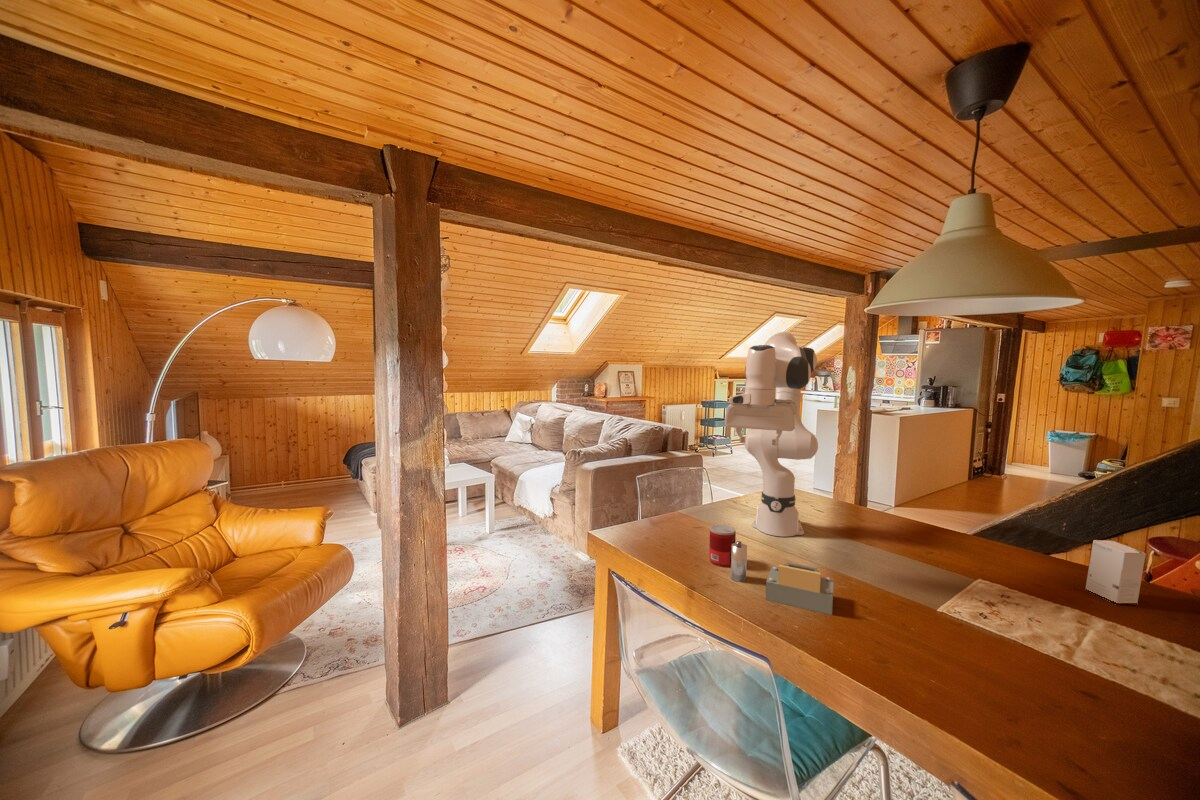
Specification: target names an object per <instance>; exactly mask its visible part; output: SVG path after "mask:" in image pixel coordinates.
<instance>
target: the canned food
mask: <svg viewBox="0 0 1200 800" xmlns="http://www.w3.org/2000/svg"><path fill="white" fill-rule="evenodd" d="M736 535H737V532H736V529H735V528H734V527H733V526H730V525H727V524H726V525H725V524H714V525H711V526H710V527H709V548H708V549H709V551H708V552H709V553H708V554H709V558H708V559H709V562H710V563H711V564H712V565H713V566H717V567H723V568H724V567H725V568H727V567H731V550H732V544H733V543H736V542H737V540H736V538H737V537H736Z"/></svg>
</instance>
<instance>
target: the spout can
mask: <svg viewBox="0 0 1200 800" xmlns="http://www.w3.org/2000/svg"><path fill="white" fill-rule="evenodd" d="M747 564H748V546H747V544H745V543H742V541H740V540H739V541H737V540H736V541H735V543H733V544H732V550H731V566H730V579H731V580H732V581H734V582H737V583H744V582H746V581H747V572H748V571H747V566H748V565H747Z"/></svg>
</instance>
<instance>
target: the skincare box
mask: <svg viewBox="0 0 1200 800" xmlns="http://www.w3.org/2000/svg"><path fill="white" fill-rule="evenodd" d="M1091 546H1092V547H1091V553H1090V559H1089V564H1088V569H1087V570H1088V571H1087V575H1086V576H1087V577H1086V583H1085V590H1086V589H1087V590H1089V591H1091V592H1093V593H1096V594H1098V595H1100V596H1102V597H1105V598H1107V599H1109V600H1111V601H1114V602H1116V603H1137V604H1138V602H1139V596H1140V590H1141V583H1142V578H1143V573H1144V572H1143V571H1144V567H1145V560H1146V556H1147V553H1145V552H1143V551H1141V550H1138V549H1136V548H1133V547H1130V546H1128V545H1125V544H1122V543H1120V542H1118V541H1114V540H1104V539H1103V540H1101V539H1100V540H1098V539H1094V540H1093V541H1092V545H1091ZM1091 592H1090V593H1091ZM1093 593H1092V594H1093Z"/></svg>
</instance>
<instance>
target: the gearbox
mask: <svg viewBox="0 0 1200 800" xmlns="http://www.w3.org/2000/svg"><path fill="white" fill-rule="evenodd" d="M765 582H766V583H765V588H766V589H765V600H766V601H770V602H773V603H779V604H783V605H787V606H792V607H796V608H801V609H806V610H810V611H814V612H817V613H821V614H827V615H831V616H833V604H834V603H833V601H834V583H835V582H834V579H833V578H831V577H828V576H827V577H824V576H821V572H820V570H819V569H818V568H817V567H812V566H808V565H802V564H796V563H792V562H786V563H784V564H783V565H782V564H778V567H777V566H771V567H770V570H769V573H768V576H767V579H766V581H765Z"/></svg>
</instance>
